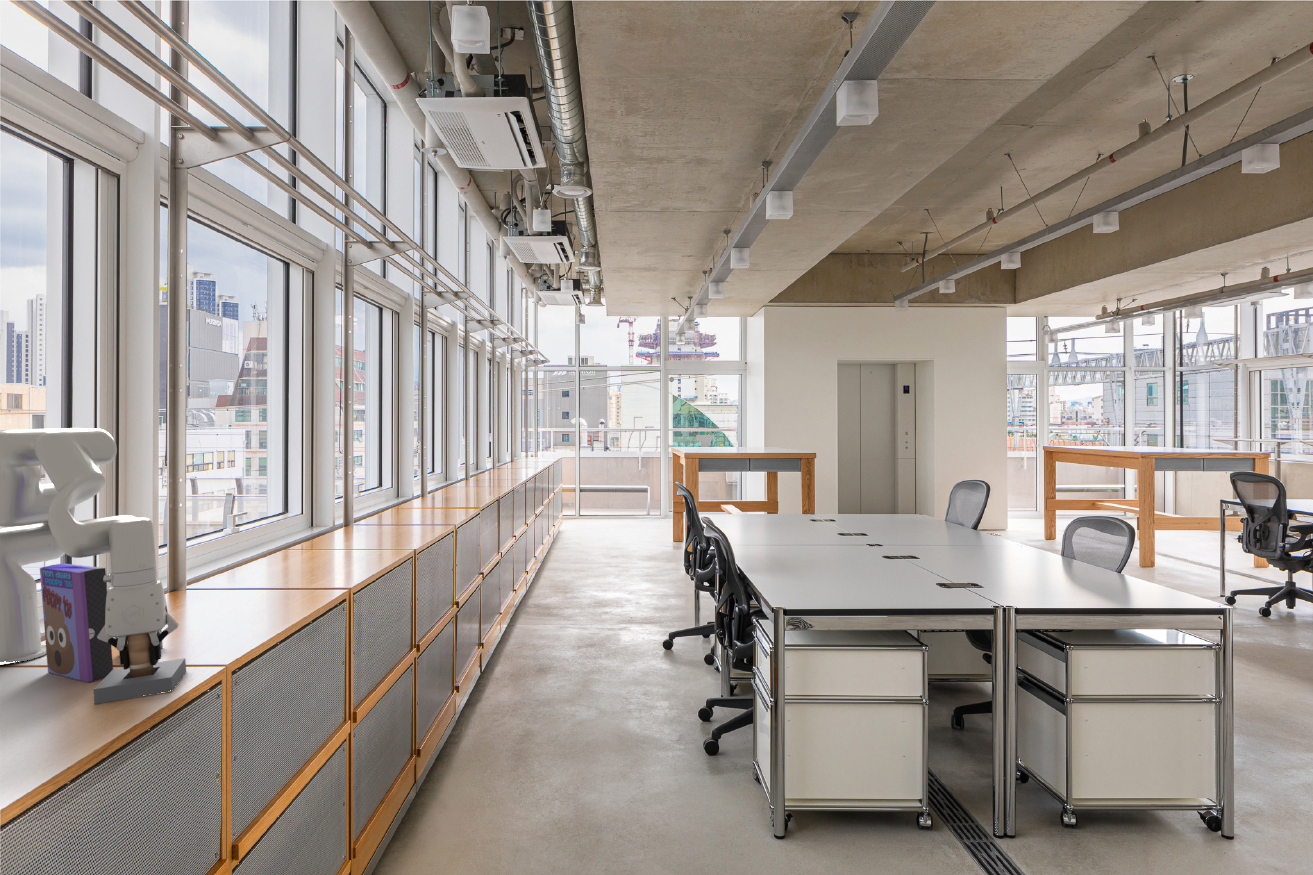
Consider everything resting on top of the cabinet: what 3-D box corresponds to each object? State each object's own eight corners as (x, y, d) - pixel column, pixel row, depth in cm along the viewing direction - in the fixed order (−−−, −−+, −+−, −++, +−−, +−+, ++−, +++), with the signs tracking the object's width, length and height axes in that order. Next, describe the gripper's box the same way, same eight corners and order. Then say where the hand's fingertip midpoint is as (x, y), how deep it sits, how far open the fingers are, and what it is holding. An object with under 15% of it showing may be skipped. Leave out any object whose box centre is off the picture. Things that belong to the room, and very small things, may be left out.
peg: (133, 676, 152) (129, 620, 152) (156, 673, 154) (152, 617, 153) (127, 683, 148) (123, 624, 148) (151, 679, 150) (147, 621, 150)
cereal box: (48, 672, 164) (39, 567, 163) (73, 665, 168) (64, 562, 167) (88, 683, 155) (79, 571, 155) (113, 675, 160) (105, 566, 159)
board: (114, 682, 155) (113, 668, 155) (186, 671, 160) (185, 658, 160) (94, 704, 143) (93, 689, 143) (172, 691, 148) (171, 677, 148)
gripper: (78, 587, 144) (86, 678, 144) (178, 576, 150) (184, 663, 151) (91, 580, 151) (98, 667, 151) (186, 569, 157) (192, 653, 158)
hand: (141, 664), depth 151 cm, fingers closed on peg, 4 cm apart
